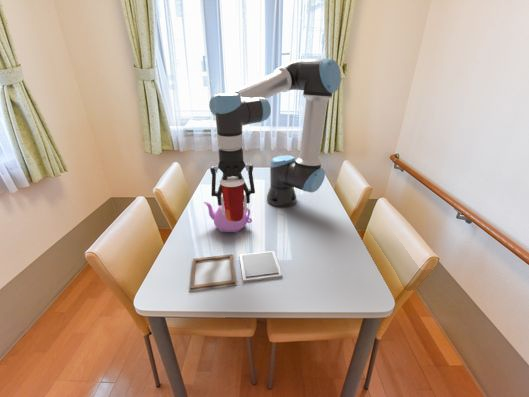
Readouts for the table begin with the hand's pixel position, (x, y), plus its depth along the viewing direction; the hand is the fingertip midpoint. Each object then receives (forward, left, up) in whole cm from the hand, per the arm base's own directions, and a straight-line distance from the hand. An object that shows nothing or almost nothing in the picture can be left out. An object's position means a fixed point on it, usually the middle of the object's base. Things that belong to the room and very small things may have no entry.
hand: (234, 211), depth 92 cm
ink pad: (-7, +10, -17) cm, 21 cm away
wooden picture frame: (+9, +10, -17) cm, 22 cm away
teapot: (+2, -17, -17) cm, 25 cm away
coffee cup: (0, 0, -2) cm, 2 cm away
